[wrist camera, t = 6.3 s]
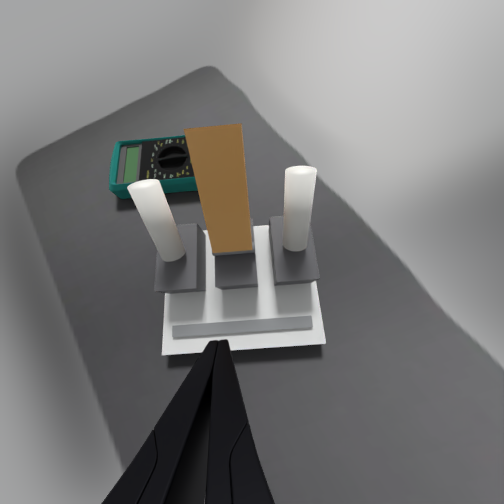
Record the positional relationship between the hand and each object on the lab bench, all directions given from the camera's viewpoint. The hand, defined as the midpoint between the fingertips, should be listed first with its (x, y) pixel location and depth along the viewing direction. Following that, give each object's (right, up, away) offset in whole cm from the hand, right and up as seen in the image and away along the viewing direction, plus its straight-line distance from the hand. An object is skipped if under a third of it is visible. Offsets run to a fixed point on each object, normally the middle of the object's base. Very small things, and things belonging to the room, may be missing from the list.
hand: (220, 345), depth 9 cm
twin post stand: (0, +1, +12) cm, 12 cm away
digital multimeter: (-9, +15, +17) cm, 24 cm away
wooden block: (0, +5, +8) cm, 9 cm away
